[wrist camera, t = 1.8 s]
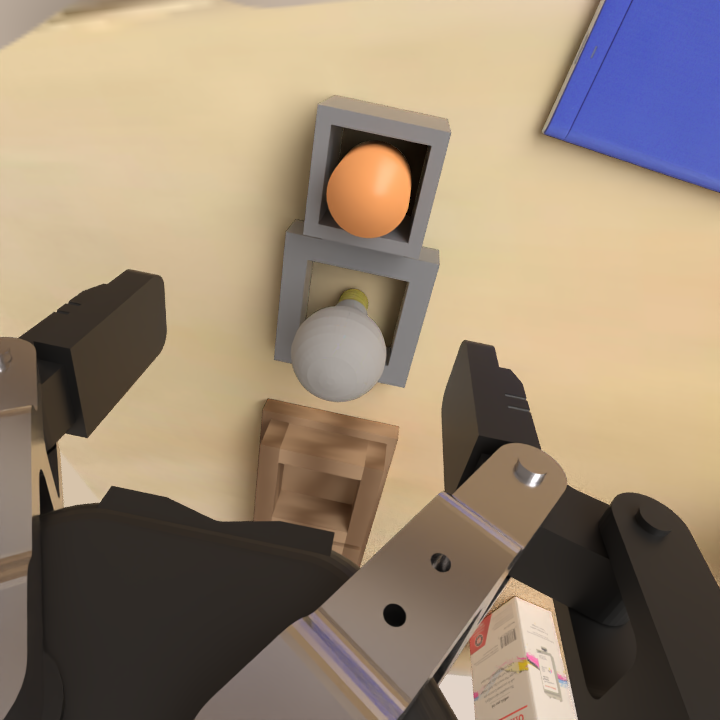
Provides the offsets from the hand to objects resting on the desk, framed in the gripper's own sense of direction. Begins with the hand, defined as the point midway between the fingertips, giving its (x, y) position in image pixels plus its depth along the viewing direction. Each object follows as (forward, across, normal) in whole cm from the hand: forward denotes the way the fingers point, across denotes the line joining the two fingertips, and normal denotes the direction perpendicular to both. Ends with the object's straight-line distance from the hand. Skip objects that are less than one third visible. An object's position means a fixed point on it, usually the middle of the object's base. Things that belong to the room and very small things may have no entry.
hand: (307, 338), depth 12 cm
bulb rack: (+20, 0, +30) cm, 36 cm away
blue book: (+21, -15, -7) cm, 27 cm away
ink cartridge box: (+20, -23, +43) cm, 53 cm away
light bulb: (+20, 0, +9) cm, 22 cm away
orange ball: (+17, 0, 0) cm, 17 cm away
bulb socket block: (+20, 0, +5) cm, 21 cm away
